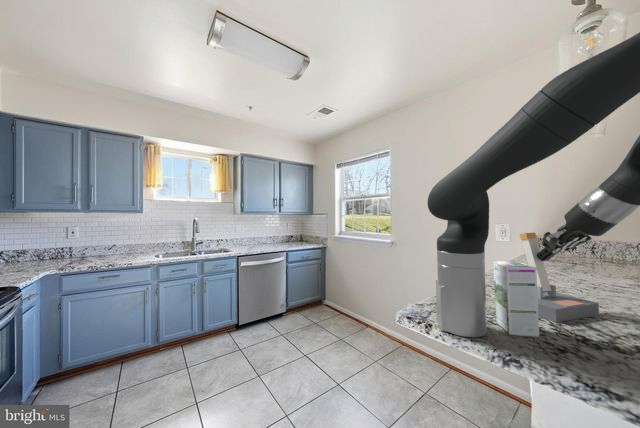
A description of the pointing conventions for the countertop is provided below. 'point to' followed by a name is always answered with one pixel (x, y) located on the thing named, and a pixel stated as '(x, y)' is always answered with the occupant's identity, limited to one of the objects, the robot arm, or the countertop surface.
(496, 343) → the countertop surface
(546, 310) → the base
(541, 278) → the breaker handle
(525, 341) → the countertop surface
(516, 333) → the syrup box
